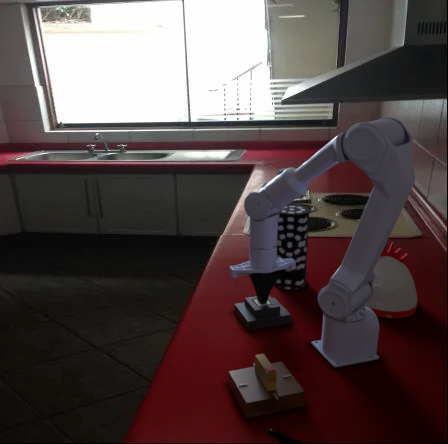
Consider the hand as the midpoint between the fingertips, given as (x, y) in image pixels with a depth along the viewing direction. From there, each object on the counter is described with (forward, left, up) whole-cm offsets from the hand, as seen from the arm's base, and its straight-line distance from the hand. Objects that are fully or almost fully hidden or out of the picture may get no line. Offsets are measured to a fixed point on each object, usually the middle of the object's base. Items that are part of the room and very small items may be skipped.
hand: (261, 301), depth 93 cm
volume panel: (+10, +23, -4) cm, 25 cm away
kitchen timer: (-29, +2, -4) cm, 29 cm away
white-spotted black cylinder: (-14, -14, -4) cm, 20 cm away
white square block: (0, 0, -2) cm, 2 cm away
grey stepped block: (0, 0, -4) cm, 4 cm away
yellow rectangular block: (+10, +23, -1) cm, 25 cm away
